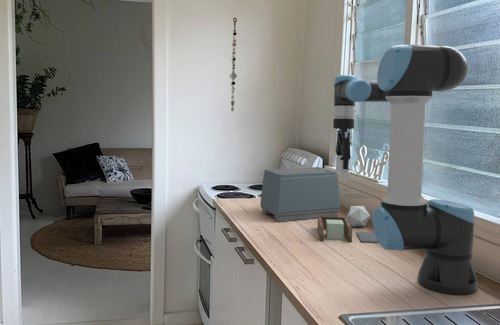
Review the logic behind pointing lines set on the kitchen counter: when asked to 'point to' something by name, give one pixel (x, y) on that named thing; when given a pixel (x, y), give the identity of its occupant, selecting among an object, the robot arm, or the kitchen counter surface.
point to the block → (334, 229)
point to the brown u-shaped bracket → (323, 219)
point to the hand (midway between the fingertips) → (341, 175)
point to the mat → (367, 237)
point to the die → (358, 216)
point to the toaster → (300, 193)
